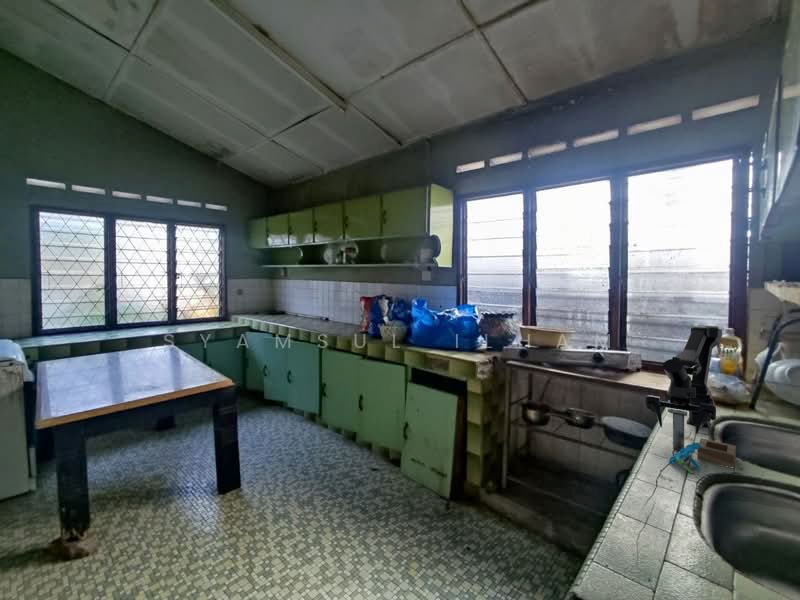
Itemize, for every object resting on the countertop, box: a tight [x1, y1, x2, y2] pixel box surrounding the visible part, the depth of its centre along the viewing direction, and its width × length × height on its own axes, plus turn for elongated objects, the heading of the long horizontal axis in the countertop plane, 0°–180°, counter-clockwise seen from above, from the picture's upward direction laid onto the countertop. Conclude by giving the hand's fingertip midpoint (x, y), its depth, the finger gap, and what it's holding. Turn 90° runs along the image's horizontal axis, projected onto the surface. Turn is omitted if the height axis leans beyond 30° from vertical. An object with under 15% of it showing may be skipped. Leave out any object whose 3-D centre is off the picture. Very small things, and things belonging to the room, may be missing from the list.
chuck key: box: [667, 408, 688, 452], centre depth 119 cm, size 3×5×13 cm, turn 45°
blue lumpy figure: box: [668, 441, 701, 474], centre depth 109 cm, size 11×6×10 cm
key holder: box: [696, 437, 737, 469], centre depth 113 cm, size 8×8×4 cm
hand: (678, 430), depth 118 cm, fingers open, 9 cm apart
